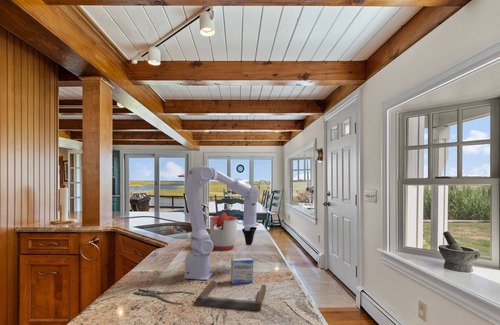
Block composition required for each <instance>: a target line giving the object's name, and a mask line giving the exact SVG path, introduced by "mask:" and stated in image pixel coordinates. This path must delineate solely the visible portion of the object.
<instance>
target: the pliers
mask: <svg viewBox="0 0 500 325" xmlns="http://www.w3.org/2000/svg"><path fill="white" fill-rule="evenodd" d="M139 291H140V292H139ZM142 291H144V292H142ZM133 294H134V295H138V296H140V295H141V297H153V298H157V299H158V300H161V301H162V302H165V303H167V304H171V305H180V306H181V305H184V303H183V302H175V301H171V300H168V299H166V298H164V297H163V296H162V295H169V294H170V295H171V294H188V295H192V296H193V295H195V292H190V291H186V290H185V291H184V290H176V291H175V290H174V291H160V290H159V291H157V290H151V289H145V288H144V289H141V288H139V289H138V291H134V292H133Z"/></svg>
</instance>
